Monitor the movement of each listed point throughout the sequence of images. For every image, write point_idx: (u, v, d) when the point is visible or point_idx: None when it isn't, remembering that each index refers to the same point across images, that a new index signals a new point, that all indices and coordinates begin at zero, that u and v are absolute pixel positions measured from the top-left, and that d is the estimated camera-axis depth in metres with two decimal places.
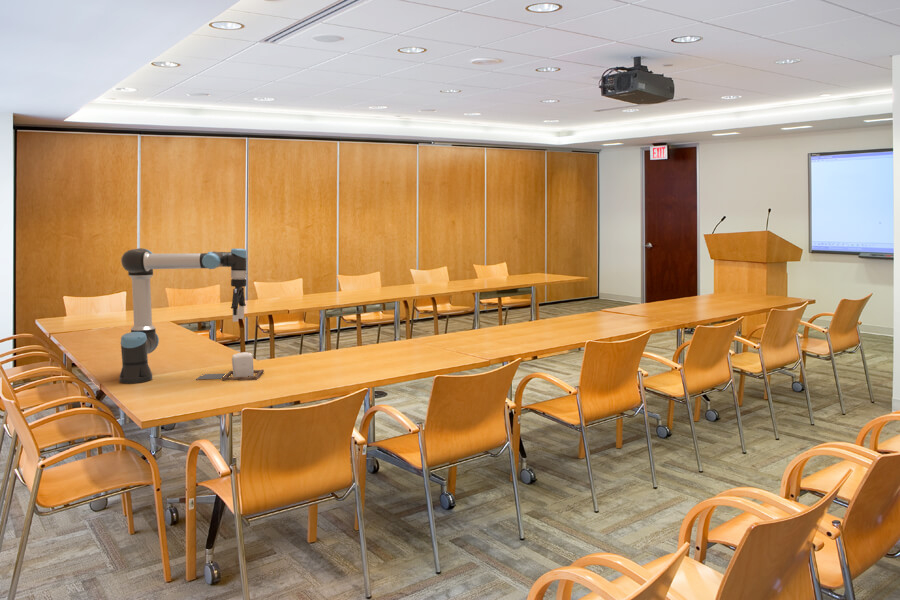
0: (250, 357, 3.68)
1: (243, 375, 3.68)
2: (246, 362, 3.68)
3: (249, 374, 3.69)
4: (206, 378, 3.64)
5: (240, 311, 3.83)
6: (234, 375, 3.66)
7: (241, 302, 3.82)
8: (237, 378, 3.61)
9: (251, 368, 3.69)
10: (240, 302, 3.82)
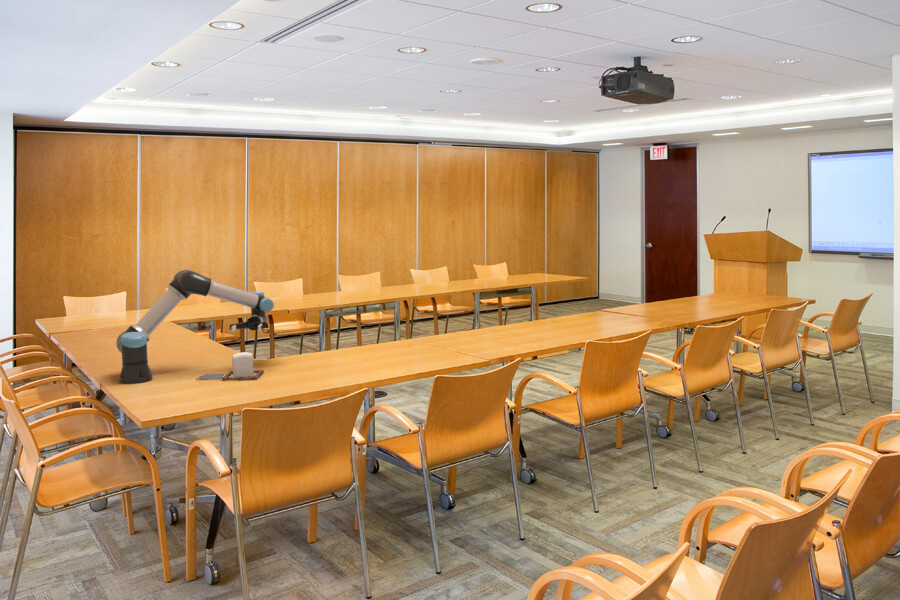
0: (250, 357, 3.68)
1: (243, 375, 3.68)
2: (246, 362, 3.68)
3: (249, 374, 3.69)
4: (206, 378, 3.64)
5: (234, 327, 3.81)
6: (234, 375, 3.66)
7: (238, 327, 3.85)
8: (237, 378, 3.61)
9: (251, 368, 3.69)
10: (238, 326, 3.85)
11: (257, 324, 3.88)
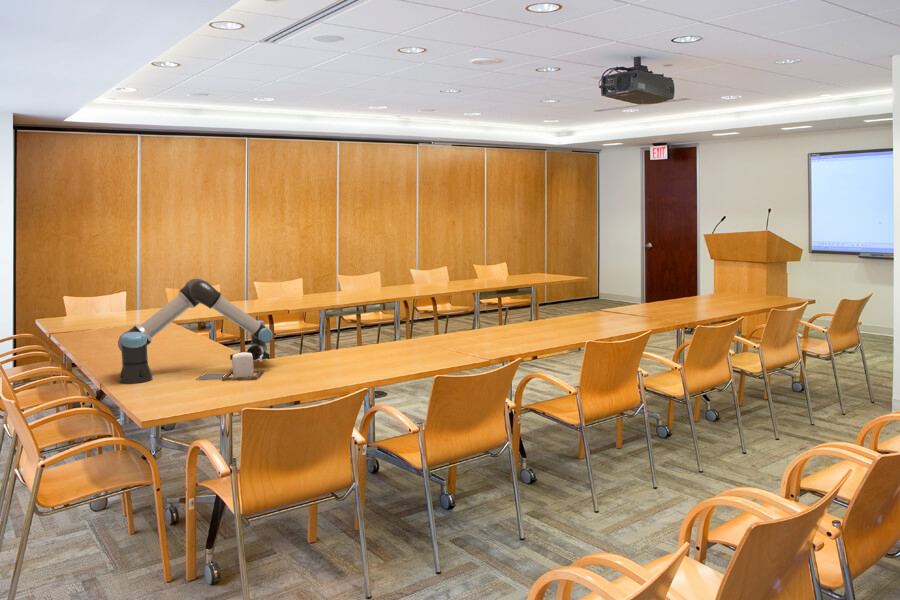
0: (250, 357, 3.68)
1: (243, 375, 3.68)
2: (246, 362, 3.68)
3: (249, 374, 3.69)
4: (206, 378, 3.64)
5: None
6: (234, 375, 3.66)
7: None
8: (237, 378, 3.61)
9: (251, 368, 3.69)
10: None
11: (258, 354, 3.87)
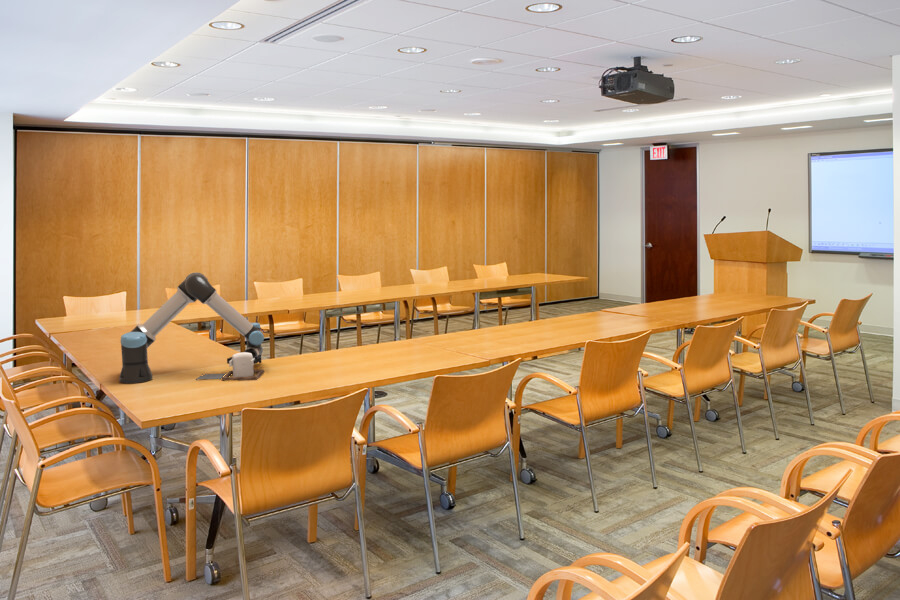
0: (250, 357, 3.68)
1: (243, 375, 3.68)
2: (246, 362, 3.68)
3: (249, 374, 3.69)
4: (206, 378, 3.64)
5: None
6: (234, 375, 3.66)
7: None
8: (237, 378, 3.61)
9: (251, 368, 3.69)
10: None
11: None
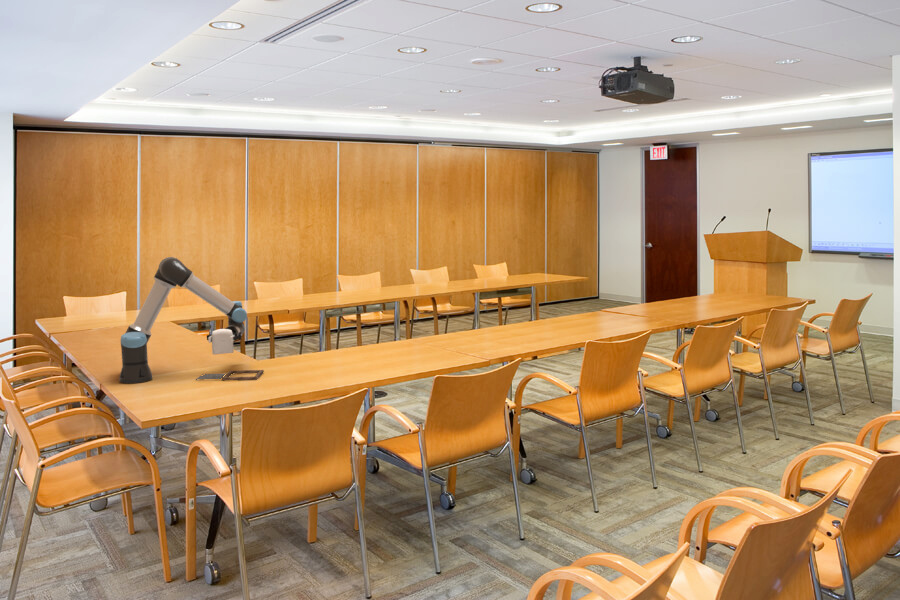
0: (229, 333, 3.67)
1: (222, 352, 3.66)
2: (226, 338, 3.66)
3: (229, 351, 3.67)
4: (206, 378, 3.64)
5: None
6: (213, 351, 3.65)
7: None
8: (237, 378, 3.61)
9: (231, 345, 3.68)
10: None
11: None
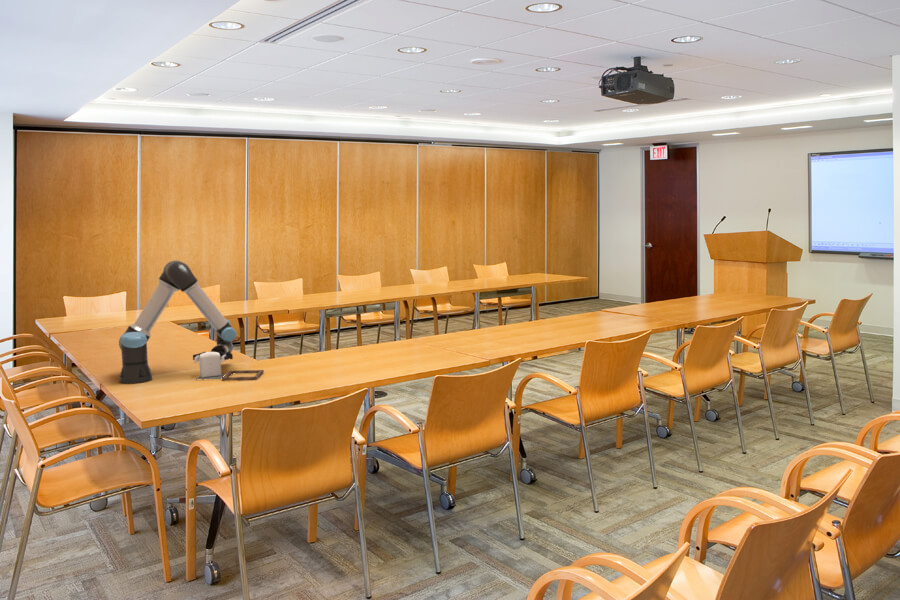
0: (217, 356, 3.68)
1: (210, 374, 3.67)
2: (213, 361, 3.67)
3: (216, 373, 3.69)
4: (206, 378, 3.64)
5: (198, 358, 3.68)
6: (201, 374, 3.66)
7: None
8: (237, 378, 3.61)
9: (218, 367, 3.69)
10: None
11: (221, 354, 3.76)
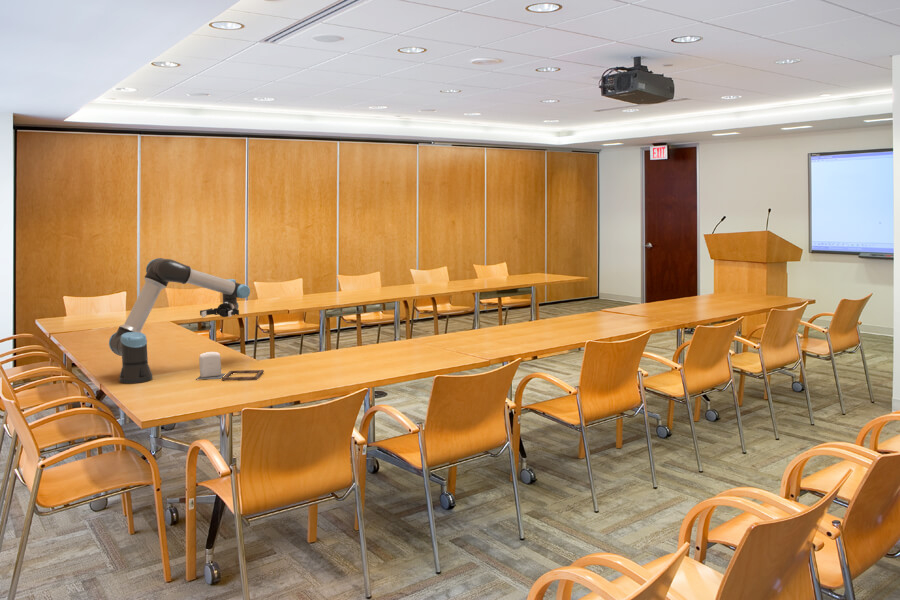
0: (217, 356, 3.68)
1: (210, 374, 3.67)
2: (213, 361, 3.67)
3: (216, 373, 3.69)
4: (206, 378, 3.64)
5: (205, 313, 3.83)
6: (201, 374, 3.66)
7: (208, 313, 3.88)
8: (237, 378, 3.61)
9: (218, 367, 3.69)
10: (208, 312, 3.88)
11: (228, 310, 3.91)
